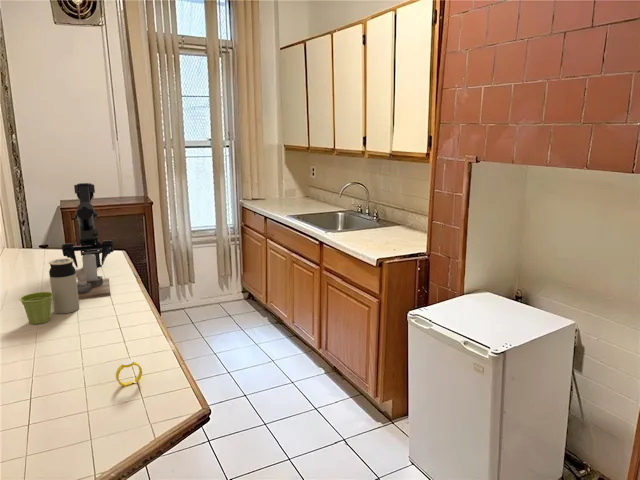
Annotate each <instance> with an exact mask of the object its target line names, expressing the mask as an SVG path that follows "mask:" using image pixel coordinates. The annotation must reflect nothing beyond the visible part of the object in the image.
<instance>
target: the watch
mask: <svg viewBox="0 0 640 480" xmlns="http://www.w3.org/2000/svg"><path fill="white" fill-rule="evenodd" d="M132 366H137V367H138V375H137V376H136V378H134V380H135V381H134V382H137V383H138V382H139V381H140V380H141V378H142V377H143V376H142V375H143V370H142V366H140V364H139V363H138V362H135V361H134V360H133V359H126V360H124V361H122V362H121V365H119V366H118V368H117V370H116V372H115V379H116V381H117V383H119V385H120V386H122V387H127V385H128V386H131V385H133V384H132V383H134V382H132V381H133V380H130V381H126V382H122V381H120V379H119V377H120V374H121V372H122V370H123V369H125V368H131V367H132ZM130 384H131V385H130Z"/></svg>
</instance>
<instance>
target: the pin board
mask: <svg viewBox="0 0 640 480" xmlns="http://www.w3.org/2000/svg"><path fill="white" fill-rule="evenodd" d="M97 276H98V280H95V281H87V280H86V274H84V273H80V274H76V279H77V290H78V299H79V300H83V299H88V298H89V299H90V298H98V297H105V296H111V294H112V293H111V287H110V278H109V277H108V278H107V277H105V278H103V275H97Z"/></svg>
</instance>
